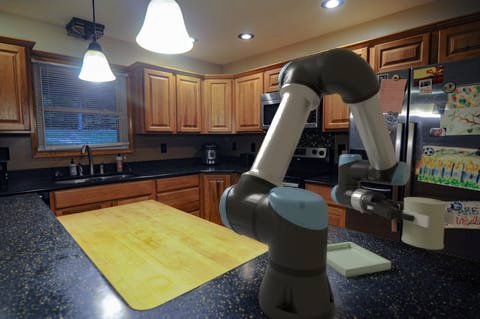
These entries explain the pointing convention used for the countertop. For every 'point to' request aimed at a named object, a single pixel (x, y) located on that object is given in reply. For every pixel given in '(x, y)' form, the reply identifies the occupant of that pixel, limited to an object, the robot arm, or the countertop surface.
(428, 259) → the countertop surface
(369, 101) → the robot arm
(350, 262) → the tray
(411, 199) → the can
